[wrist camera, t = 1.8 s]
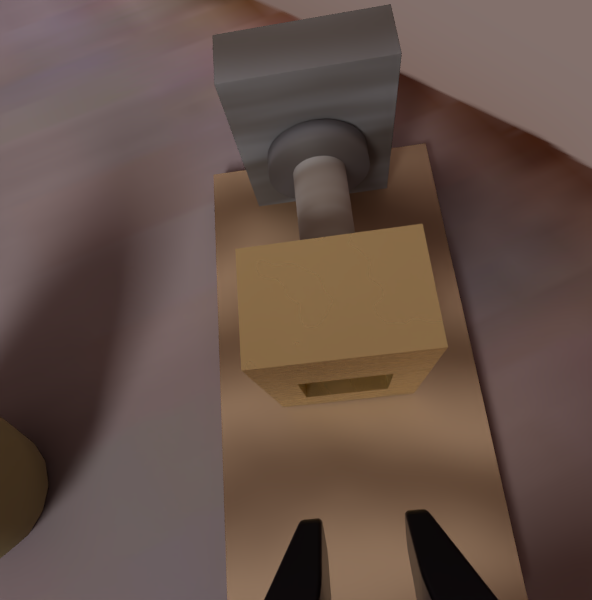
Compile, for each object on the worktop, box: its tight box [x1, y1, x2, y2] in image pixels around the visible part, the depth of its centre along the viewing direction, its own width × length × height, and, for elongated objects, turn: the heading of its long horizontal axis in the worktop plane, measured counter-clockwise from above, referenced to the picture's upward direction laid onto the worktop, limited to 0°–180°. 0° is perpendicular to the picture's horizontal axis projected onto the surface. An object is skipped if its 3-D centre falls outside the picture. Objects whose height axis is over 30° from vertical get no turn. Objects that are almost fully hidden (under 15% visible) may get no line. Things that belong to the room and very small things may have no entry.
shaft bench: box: [213, 5, 528, 600], centre depth 19 cm, size 22×12×10 cm, turn 5°
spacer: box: [235, 224, 448, 407], centre depth 18 cm, size 4×6×9 cm, turn 95°
